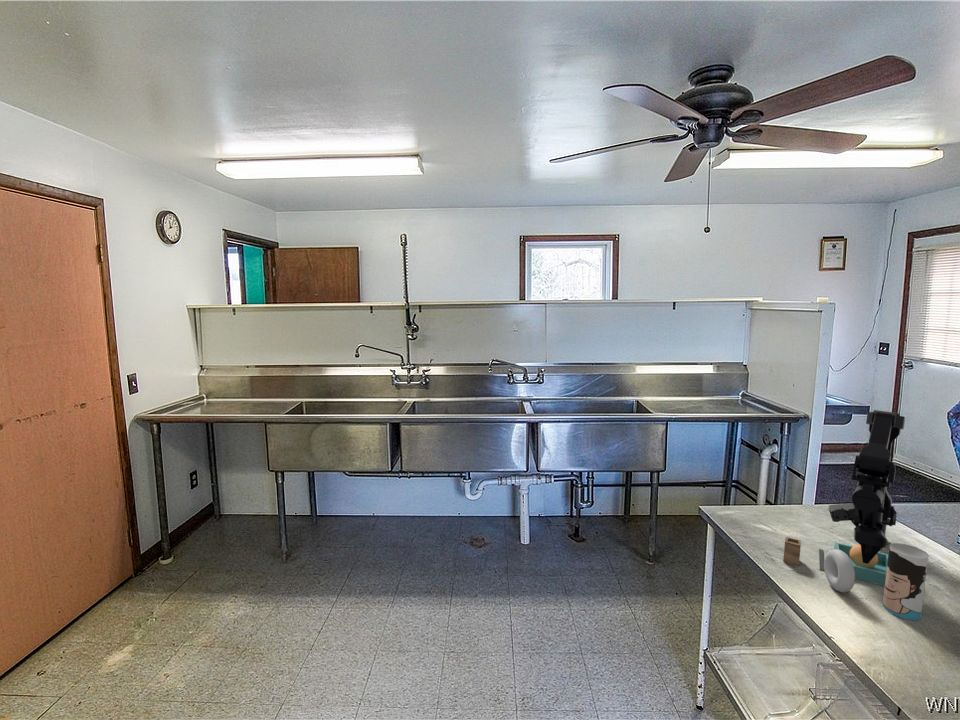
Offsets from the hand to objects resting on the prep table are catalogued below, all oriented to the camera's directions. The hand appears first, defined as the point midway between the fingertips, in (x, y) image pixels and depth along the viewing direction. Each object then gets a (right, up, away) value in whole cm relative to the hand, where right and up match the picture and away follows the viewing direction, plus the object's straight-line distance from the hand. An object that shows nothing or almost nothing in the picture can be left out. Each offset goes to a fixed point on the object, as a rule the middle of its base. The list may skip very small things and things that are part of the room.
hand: (863, 555), depth 129 cm
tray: (0, -4, 0) cm, 4 cm away
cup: (-5, -6, -17) cm, 19 cm away
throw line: (-8, -3, +5) cm, 10 cm away
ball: (0, 0, 0) cm, 0 cm away
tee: (-17, -3, +5) cm, 18 cm away
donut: (-13, -5, -8) cm, 17 cm away
